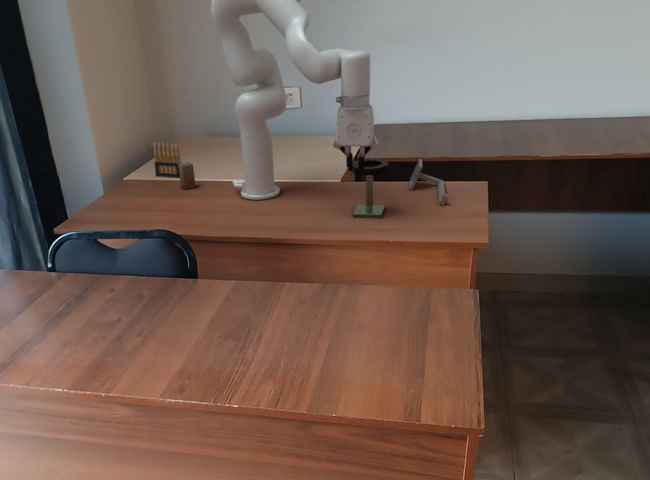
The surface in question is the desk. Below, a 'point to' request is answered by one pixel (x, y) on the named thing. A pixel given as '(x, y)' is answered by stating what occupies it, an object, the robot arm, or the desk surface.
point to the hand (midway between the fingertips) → (355, 169)
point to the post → (369, 203)
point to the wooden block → (186, 175)
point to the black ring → (370, 167)
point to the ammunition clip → (167, 160)
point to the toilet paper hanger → (422, 176)
